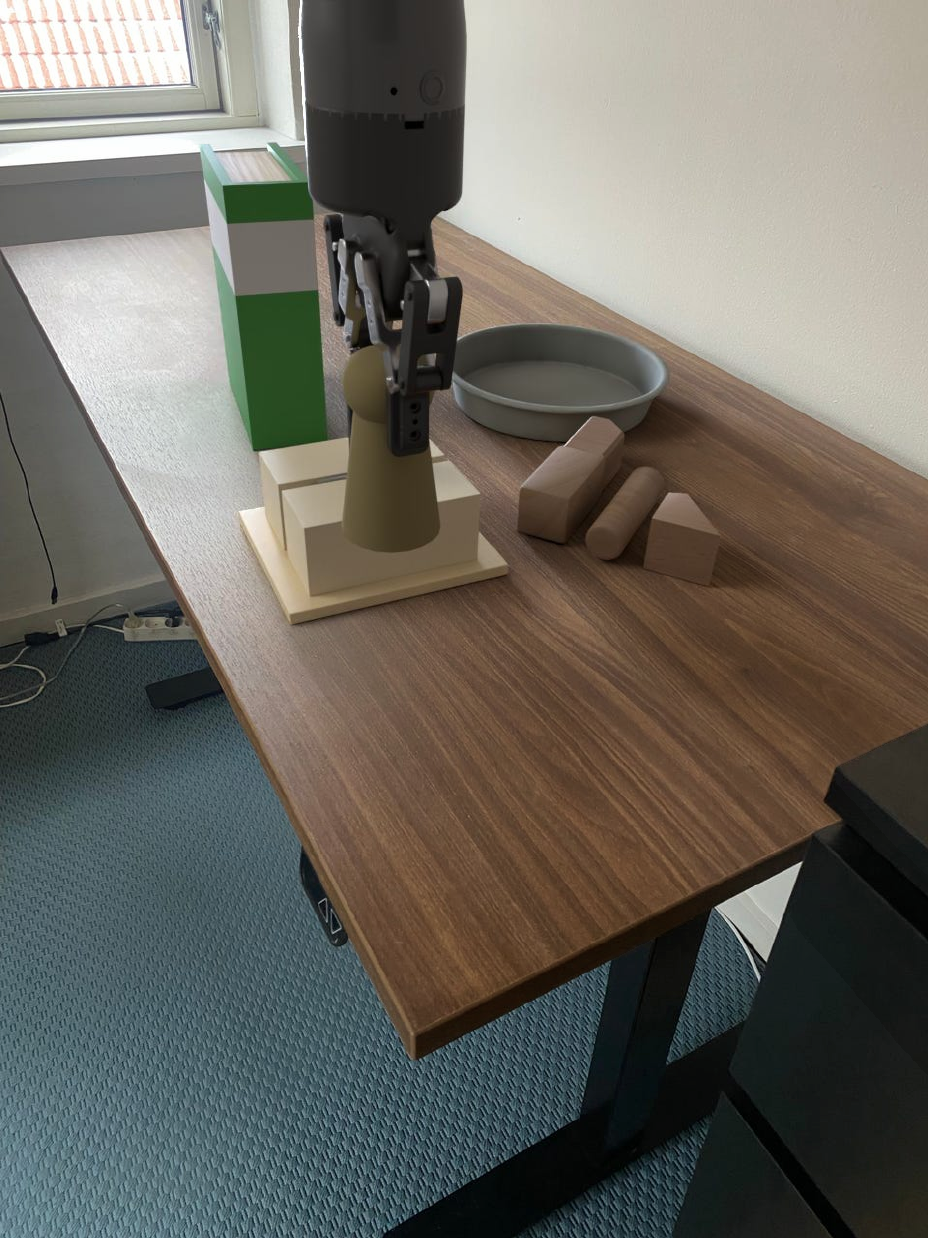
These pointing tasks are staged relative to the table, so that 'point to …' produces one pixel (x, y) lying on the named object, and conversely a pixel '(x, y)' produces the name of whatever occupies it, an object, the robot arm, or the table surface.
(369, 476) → the chess pawn figurine
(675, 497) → the wooden block set
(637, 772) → the table surface
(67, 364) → the table surface
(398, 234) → the robot arm
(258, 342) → the hardback book
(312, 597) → the slotted fixture
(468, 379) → the cake pan
